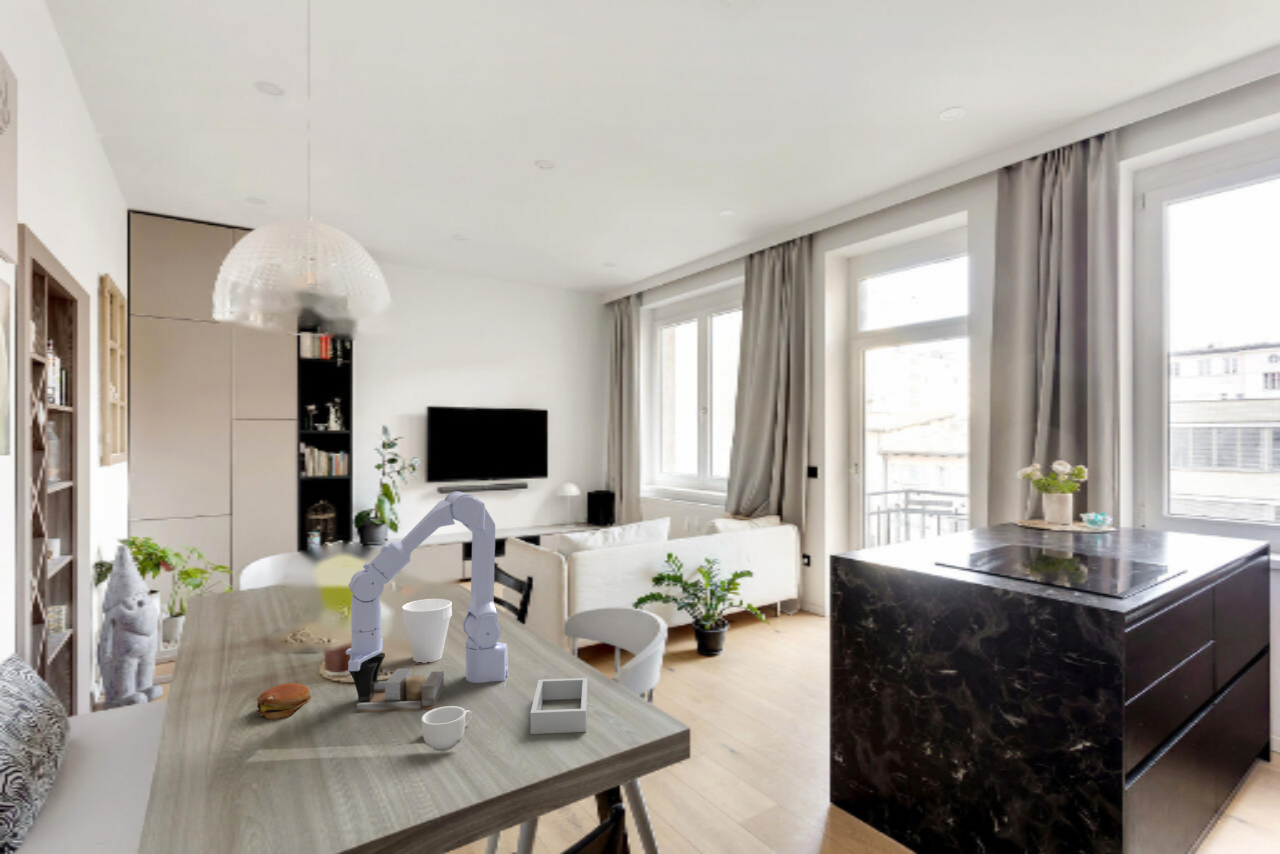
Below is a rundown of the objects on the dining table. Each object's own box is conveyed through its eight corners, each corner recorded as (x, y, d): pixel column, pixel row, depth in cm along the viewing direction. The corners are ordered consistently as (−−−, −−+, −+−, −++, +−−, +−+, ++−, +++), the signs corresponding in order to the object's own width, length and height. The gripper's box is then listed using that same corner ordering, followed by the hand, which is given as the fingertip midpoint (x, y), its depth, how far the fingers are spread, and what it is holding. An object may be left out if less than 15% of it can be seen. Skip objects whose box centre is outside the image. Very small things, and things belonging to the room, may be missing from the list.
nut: (427, 694, 137) (427, 675, 137) (422, 701, 133) (422, 682, 133) (408, 694, 137) (408, 675, 137) (403, 702, 133) (402, 683, 133)
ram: (411, 689, 139) (411, 666, 139) (400, 705, 131) (399, 680, 131) (367, 691, 138) (366, 667, 138) (352, 706, 130) (352, 682, 130)
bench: (445, 693, 141) (445, 667, 141) (431, 716, 129) (431, 689, 129) (376, 695, 140) (376, 670, 140) (355, 719, 128) (355, 692, 128)
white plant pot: (432, 669, 156) (432, 612, 156) (391, 664, 160) (390, 609, 160) (462, 652, 167) (461, 600, 168) (422, 648, 171) (422, 597, 171)
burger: (316, 699, 139) (316, 677, 139) (302, 717, 130) (301, 694, 130) (266, 703, 137) (266, 681, 137) (248, 722, 128) (248, 699, 128)
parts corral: (587, 696, 138) (587, 677, 139) (586, 731, 122) (585, 710, 122) (538, 698, 138) (538, 679, 138) (530, 734, 121) (530, 712, 121)
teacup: (437, 759, 112) (437, 728, 112) (413, 746, 117) (413, 716, 117) (484, 738, 120) (484, 709, 120) (459, 726, 125) (459, 698, 125)
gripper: (359, 618, 141) (360, 680, 141) (332, 639, 127) (332, 708, 127) (392, 617, 142) (392, 679, 142) (368, 638, 127) (369, 707, 127)
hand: (366, 693), depth 134 cm, fingers closed on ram, 2 cm apart
